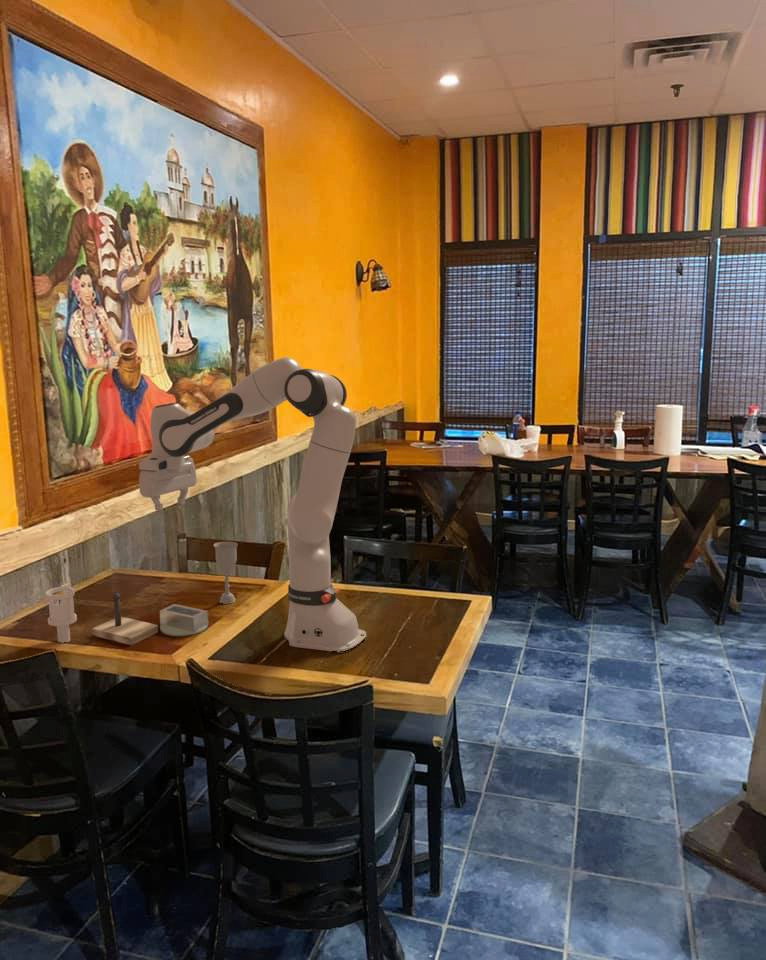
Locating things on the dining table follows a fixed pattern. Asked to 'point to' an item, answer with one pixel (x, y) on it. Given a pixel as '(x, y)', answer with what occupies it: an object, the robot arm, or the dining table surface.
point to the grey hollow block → (184, 617)
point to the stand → (124, 627)
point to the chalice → (226, 566)
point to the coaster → (178, 631)
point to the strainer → (62, 611)
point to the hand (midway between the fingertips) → (170, 506)
